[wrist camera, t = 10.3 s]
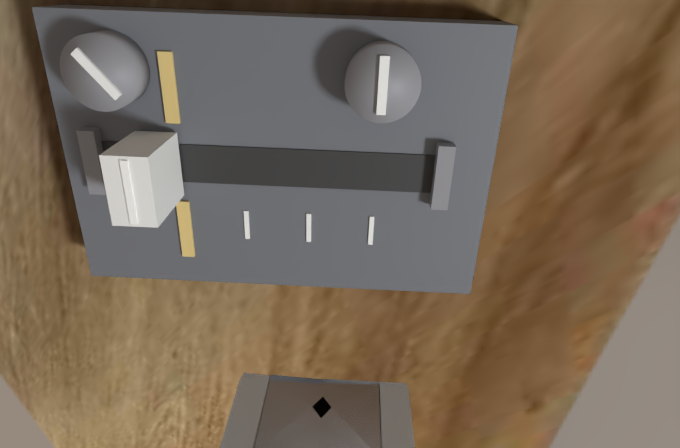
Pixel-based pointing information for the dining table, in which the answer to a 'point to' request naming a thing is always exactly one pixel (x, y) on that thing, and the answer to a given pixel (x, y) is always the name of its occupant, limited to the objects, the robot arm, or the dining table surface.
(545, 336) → the dining table surface
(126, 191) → the fader cap
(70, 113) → the console
